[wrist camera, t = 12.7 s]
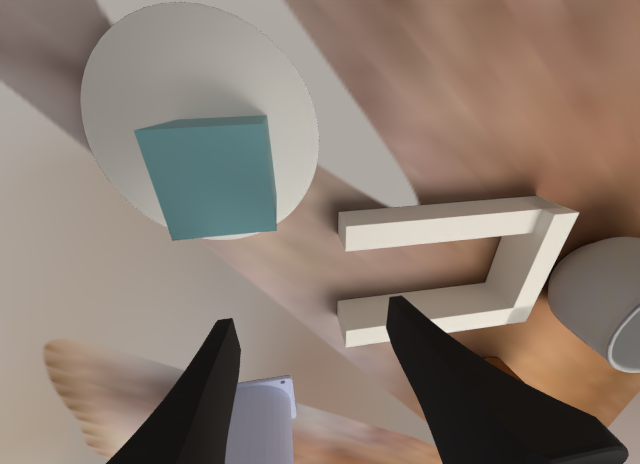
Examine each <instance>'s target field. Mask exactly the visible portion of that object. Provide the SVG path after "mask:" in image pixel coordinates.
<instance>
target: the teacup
mask: <svg viewBox="0 0 640 464" xmlns="http://www.w3.org/2000/svg"><path fill="white" fill-rule="evenodd" d="M548 288H549V289H548V303H549V306H550V309H551V311H552V312H553V314H554V315H555V316H556V318H557V319H558V320H559V321H560V322H561V323H562V324H563V325H564V326H565V327H566V328H568V329H569V330H570V331H571V332H572V333H573V334H575V335H576V336H577V337H578V338H579V339H581V340H582V341H583V342H584V343H586V344H587V345H588V346H589V347H591V348H592V349H593V350H595V351H596V352H597V353H598V354H600V355H601V356H602V357H604V358H605V359H606V360H607V362H608V363H609V364H610V365H611V366H613V367H614V368H615V369H618V370H620V371H623V372H632V373H635V372H640V238H636V237H615V238H608V239H604V240H601V241H598V242H595V243H591V244H588V245H585V246H582V247H580V248H578V249H576V250H574V251H573V252H571V253H570V254H568V255H567V256H566V257H564V258H563V259H562V260H561V261H560V262H559V263H558V265H557V266H556V267H555V269H554V270H553V272H552V274H551V276H550V279H549V284H548Z"/></svg>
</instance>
